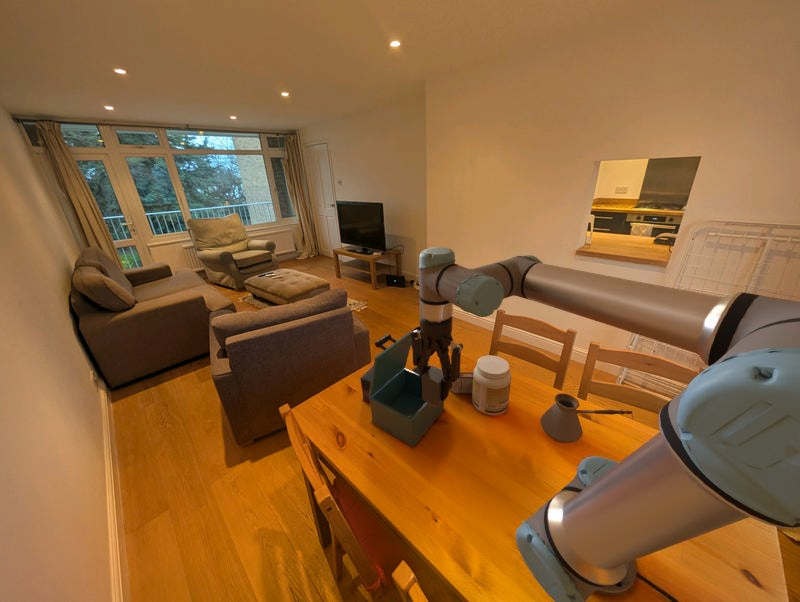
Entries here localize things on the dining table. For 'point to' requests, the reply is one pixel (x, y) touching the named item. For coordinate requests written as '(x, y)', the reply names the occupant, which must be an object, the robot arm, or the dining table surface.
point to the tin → (463, 383)
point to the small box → (366, 384)
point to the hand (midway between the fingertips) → (435, 393)
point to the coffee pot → (567, 419)
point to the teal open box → (403, 408)
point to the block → (432, 386)
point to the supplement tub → (491, 385)
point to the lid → (389, 361)
